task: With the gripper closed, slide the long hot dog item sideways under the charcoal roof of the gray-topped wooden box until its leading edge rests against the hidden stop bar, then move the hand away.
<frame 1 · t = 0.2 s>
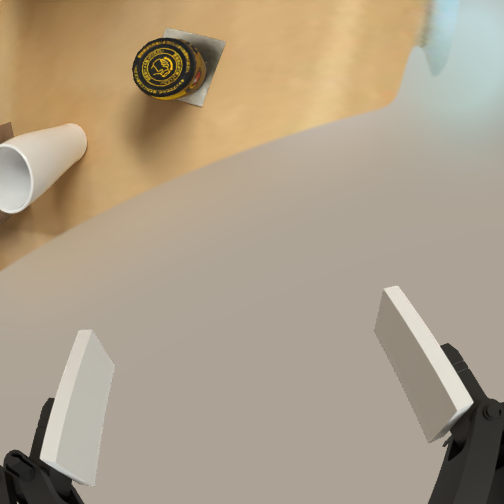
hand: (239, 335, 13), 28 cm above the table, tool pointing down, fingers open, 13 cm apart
condiment: (184, 66, 30), on the table
white tapered cylinder: (71, 142, 32), on the table
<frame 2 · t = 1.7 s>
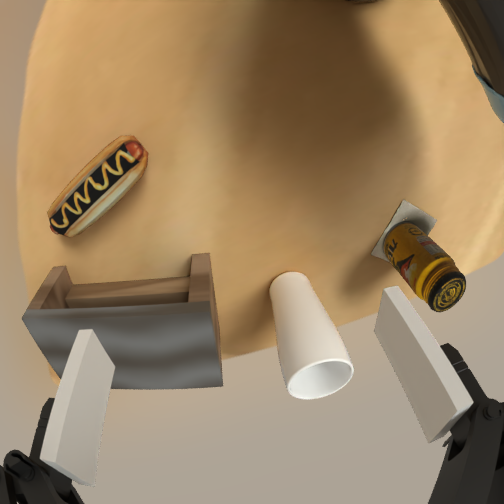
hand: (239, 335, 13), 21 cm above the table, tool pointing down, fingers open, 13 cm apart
gray-topped wooden box: (135, 299, 37), on the table
hot dog: (105, 179, 29), on the table
condiment: (404, 235, 37), on the table
white tapered cylinder: (288, 285, 39), on the table
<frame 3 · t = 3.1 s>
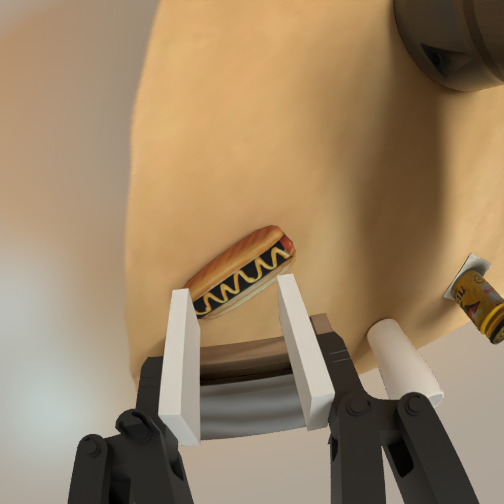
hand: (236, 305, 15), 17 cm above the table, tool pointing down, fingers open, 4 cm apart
gray-topped wooden box: (250, 355, 42), on the table
hot dog: (235, 260, 33), on the table
condiment: (466, 278, 40), on the table
white tapered cylinder: (380, 328, 43), on the table
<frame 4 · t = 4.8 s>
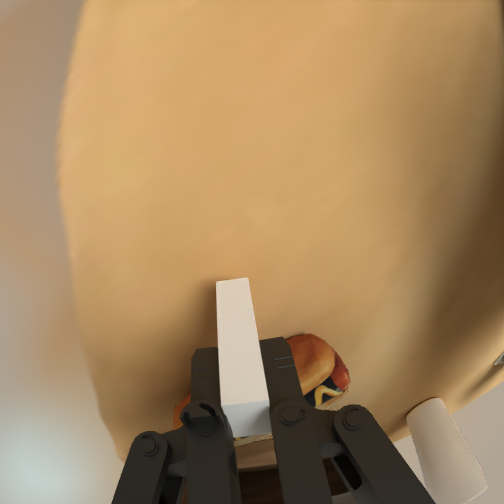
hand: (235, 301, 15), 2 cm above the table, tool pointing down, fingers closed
gray-topped wooden box: (265, 449, 29), on the table
hot dog: (250, 370, 21), on the table
white tapered cylinder: (422, 406, 30), on the table
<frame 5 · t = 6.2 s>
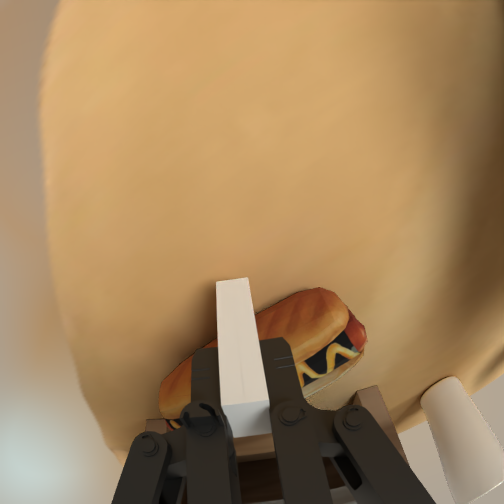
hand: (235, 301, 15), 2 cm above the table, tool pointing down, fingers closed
gray-topped wooden box: (267, 436, 27), on the table
hot dog: (249, 337, 19), on the table, touching gripper
white tapered cylinder: (437, 387, 28), on the table
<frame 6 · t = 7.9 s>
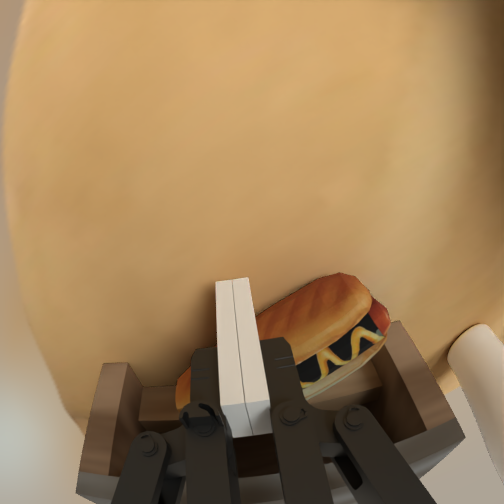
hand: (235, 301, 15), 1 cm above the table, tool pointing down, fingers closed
gray-topped wooden box: (259, 398, 22), on the table
hot dog: (267, 329, 18), on the table, touching gripper, gray-topped wooden box
white tapered cylinder: (465, 340, 23), on the table
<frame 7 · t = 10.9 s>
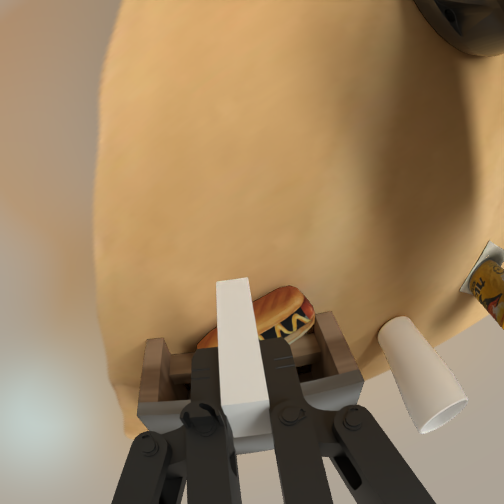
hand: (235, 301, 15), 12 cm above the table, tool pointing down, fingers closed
gray-topped wooden box: (245, 361, 36), on the table
hot dog: (250, 315, 32), on the table, touching gray-topped wooden box
condiment: (483, 269, 35), on the table
white tapered cylinder: (392, 327, 37), on the table
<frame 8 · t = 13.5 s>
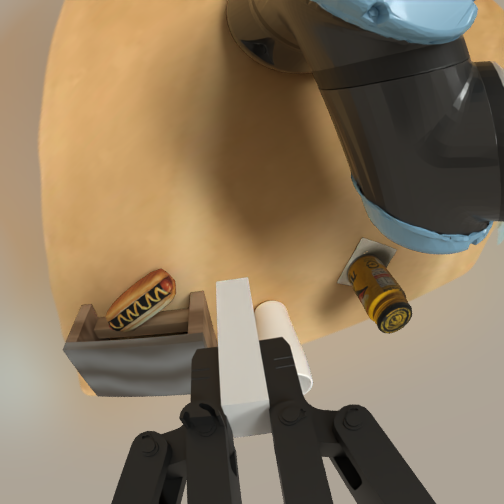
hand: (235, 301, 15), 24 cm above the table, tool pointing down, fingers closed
gray-topped wooden box: (149, 326, 47), on the table
hot dog: (143, 290, 44), on the table, touching gray-topped wooden box
condiment: (366, 264, 46), on the table
white tapered cylinder: (269, 310, 49), on the table
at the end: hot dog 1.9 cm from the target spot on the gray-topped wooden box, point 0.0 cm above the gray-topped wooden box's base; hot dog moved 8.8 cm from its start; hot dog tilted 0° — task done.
